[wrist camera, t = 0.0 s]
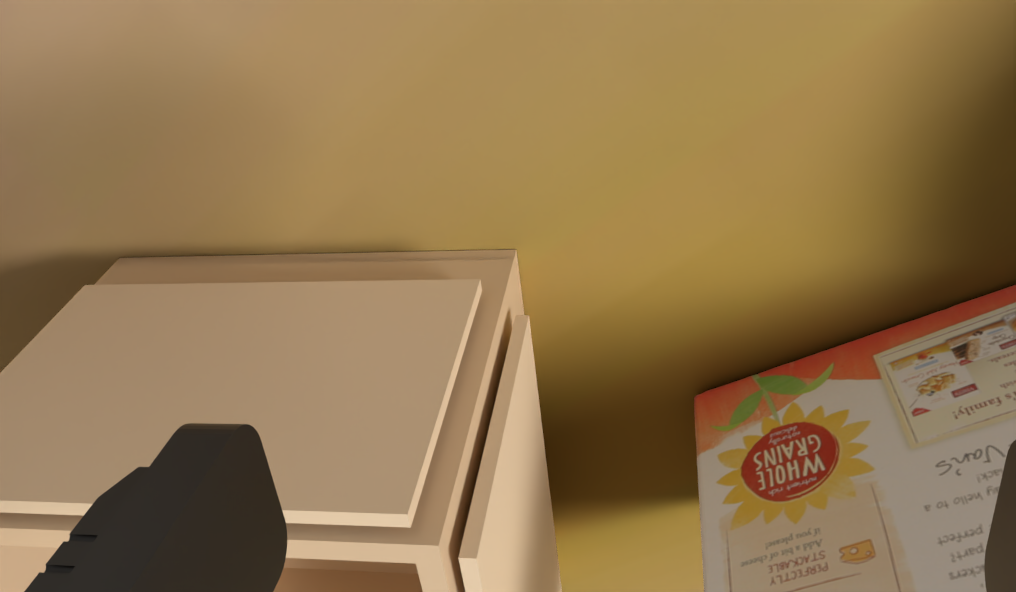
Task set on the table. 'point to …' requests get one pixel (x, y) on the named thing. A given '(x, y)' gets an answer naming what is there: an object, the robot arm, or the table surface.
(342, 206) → the table surface
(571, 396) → the table surface
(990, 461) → the cracker box
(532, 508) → the carton
